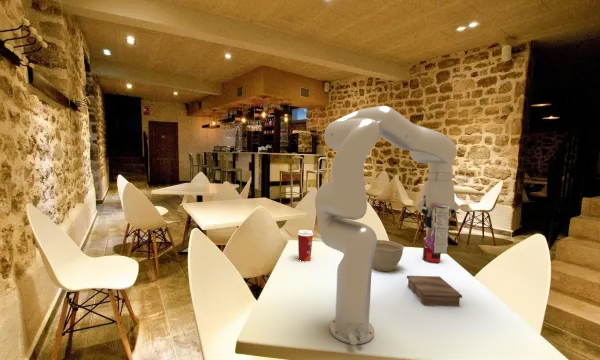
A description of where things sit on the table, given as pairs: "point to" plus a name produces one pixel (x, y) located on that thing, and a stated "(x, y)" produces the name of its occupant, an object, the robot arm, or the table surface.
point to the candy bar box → (438, 229)
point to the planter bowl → (387, 255)
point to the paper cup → (305, 244)
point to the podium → (433, 291)
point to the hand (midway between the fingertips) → (436, 226)
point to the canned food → (430, 254)
